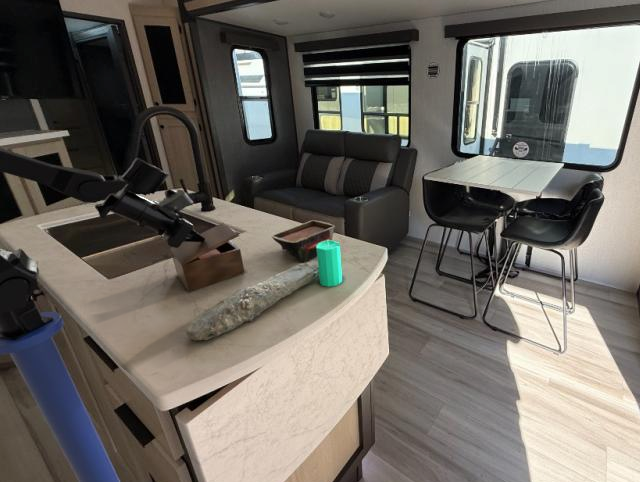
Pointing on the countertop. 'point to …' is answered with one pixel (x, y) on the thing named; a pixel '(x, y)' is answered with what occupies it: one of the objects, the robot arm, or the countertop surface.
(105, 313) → the countertop surface
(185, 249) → the chest lid
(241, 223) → the countertop surface
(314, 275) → the elongated rock
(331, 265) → the candle
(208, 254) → the block
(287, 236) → the baking dish
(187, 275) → the chest
